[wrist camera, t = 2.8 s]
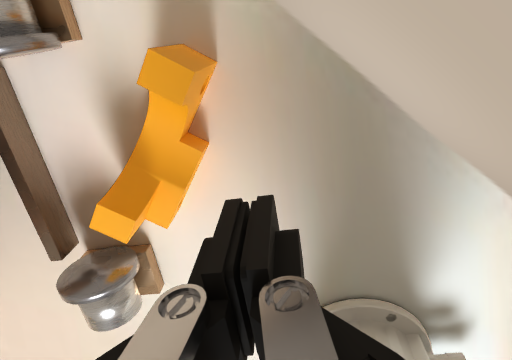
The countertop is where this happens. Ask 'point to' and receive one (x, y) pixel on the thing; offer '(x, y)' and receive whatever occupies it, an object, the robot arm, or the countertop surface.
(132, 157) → the pipe clamp
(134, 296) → the pipe run
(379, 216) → the countertop surface
